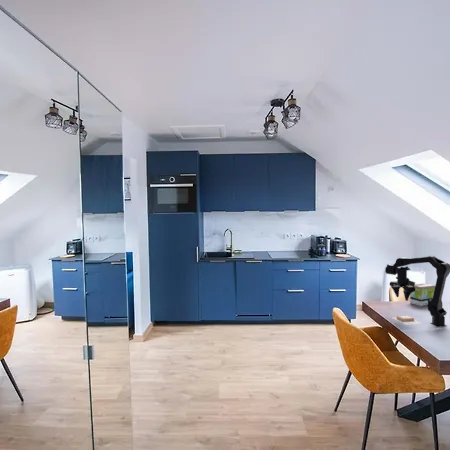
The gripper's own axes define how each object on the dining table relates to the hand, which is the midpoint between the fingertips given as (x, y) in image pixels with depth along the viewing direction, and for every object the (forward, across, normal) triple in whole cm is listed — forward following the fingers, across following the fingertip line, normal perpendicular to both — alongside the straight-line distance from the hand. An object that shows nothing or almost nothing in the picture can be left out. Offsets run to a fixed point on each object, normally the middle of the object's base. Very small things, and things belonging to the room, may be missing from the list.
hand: (402, 298), depth 215 cm
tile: (+11, -11, +4) cm, 16 cm away
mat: (+12, -10, +4) cm, 16 cm away
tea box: (+12, +25, -35) cm, 45 cm away
